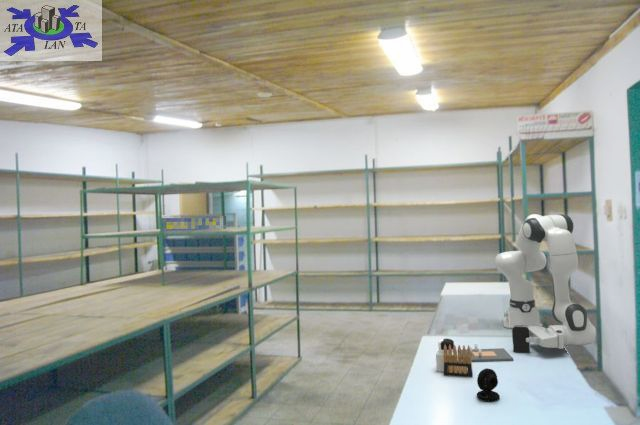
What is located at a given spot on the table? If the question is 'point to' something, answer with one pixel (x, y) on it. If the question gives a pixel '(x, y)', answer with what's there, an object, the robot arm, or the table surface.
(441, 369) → the medicine bottle
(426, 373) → the table surface
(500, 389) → the table surface
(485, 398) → the webcam
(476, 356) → the dock
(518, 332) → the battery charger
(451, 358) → the ammunition clip
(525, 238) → the robot arm
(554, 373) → the table surface
